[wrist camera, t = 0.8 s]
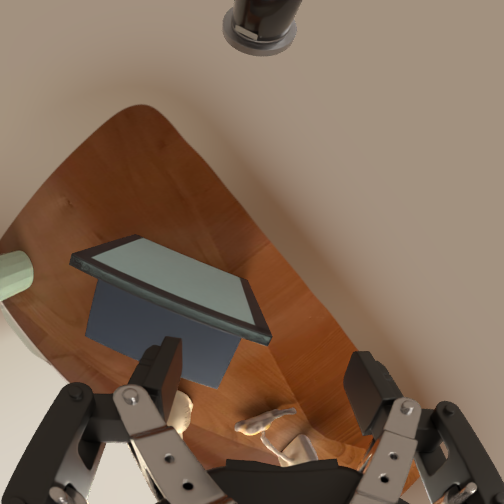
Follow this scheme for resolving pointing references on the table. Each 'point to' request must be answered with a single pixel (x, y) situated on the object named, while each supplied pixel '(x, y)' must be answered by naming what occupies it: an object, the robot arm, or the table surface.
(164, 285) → the glass door
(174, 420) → the decorative ornament
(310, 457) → the decorative sculpture
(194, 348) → the cabinet
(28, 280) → the cup
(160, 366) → the robot arm
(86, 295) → the table surface
